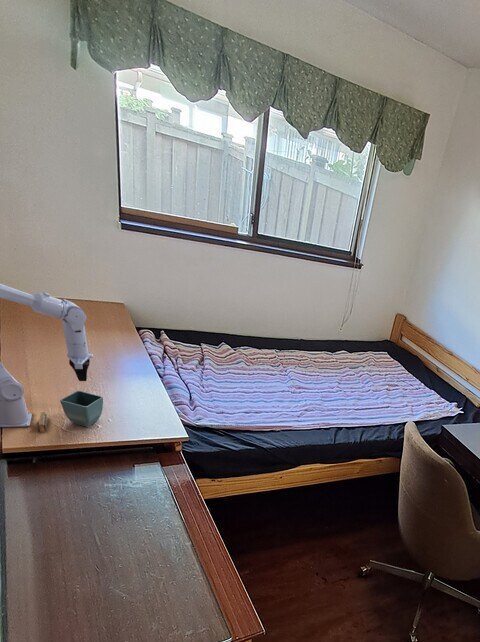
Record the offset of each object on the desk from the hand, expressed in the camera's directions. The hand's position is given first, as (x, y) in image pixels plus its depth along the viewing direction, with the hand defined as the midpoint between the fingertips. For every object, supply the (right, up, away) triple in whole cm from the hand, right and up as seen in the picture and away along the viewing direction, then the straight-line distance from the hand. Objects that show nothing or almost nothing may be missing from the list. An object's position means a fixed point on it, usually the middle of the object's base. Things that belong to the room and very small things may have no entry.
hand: (82, 380), depth 153 cm
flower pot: (+2, -15, -1) cm, 15 cm away
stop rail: (-7, -16, -8) cm, 19 cm away
